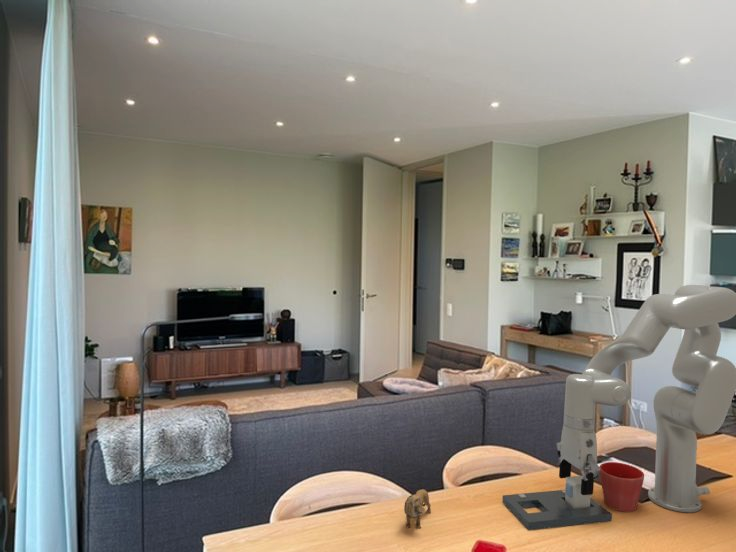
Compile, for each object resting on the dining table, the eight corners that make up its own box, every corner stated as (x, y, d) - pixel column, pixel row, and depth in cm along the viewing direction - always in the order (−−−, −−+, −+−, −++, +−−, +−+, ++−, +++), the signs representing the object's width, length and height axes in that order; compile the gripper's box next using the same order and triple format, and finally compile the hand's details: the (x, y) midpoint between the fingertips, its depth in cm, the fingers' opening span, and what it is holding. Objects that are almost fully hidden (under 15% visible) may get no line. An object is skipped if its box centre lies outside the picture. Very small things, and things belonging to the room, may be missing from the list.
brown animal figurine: (423, 538, 120) (423, 501, 120) (401, 534, 121) (401, 498, 121) (432, 508, 134) (433, 475, 134) (413, 505, 136) (413, 472, 135)
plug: (579, 504, 137) (580, 475, 136) (589, 512, 132) (590, 483, 132) (562, 506, 136) (563, 477, 135) (572, 514, 131) (572, 484, 131)
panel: (578, 495, 142) (578, 487, 142) (611, 521, 128) (611, 512, 128) (502, 502, 137) (502, 494, 137) (528, 530, 124) (528, 521, 124)
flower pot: (649, 517, 130) (650, 480, 130) (603, 512, 133) (604, 476, 132) (636, 498, 141) (637, 463, 140) (594, 493, 143) (595, 460, 143)
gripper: (613, 433, 125) (609, 500, 126) (572, 411, 142) (569, 471, 143) (586, 434, 124) (582, 502, 125) (548, 412, 141) (544, 472, 141)
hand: (575, 485), depth 134 cm, fingers open, 9 cm apart
